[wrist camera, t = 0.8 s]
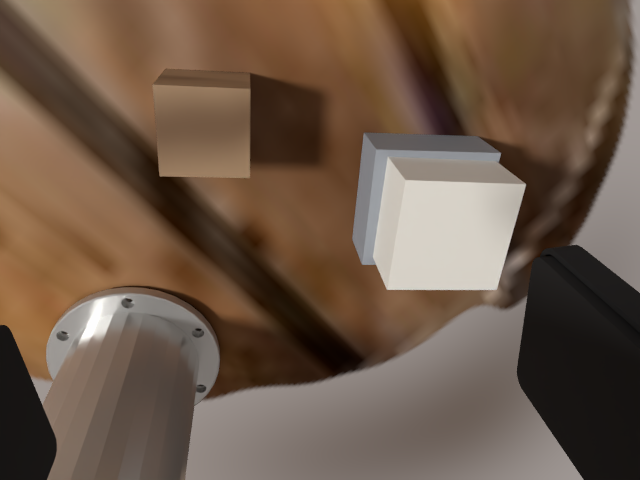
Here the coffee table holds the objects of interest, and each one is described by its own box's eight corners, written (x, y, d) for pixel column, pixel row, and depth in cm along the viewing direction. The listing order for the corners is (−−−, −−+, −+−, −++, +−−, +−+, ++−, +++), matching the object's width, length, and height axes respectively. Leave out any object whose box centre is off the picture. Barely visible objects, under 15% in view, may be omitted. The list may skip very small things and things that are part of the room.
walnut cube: (249, 151, 34) (249, 178, 29) (171, 149, 33) (159, 176, 29) (249, 72, 32) (250, 89, 27) (165, 68, 31) (152, 84, 26)
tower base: (454, 238, 39) (474, 264, 36) (351, 237, 38) (362, 264, 35) (476, 135, 36) (501, 153, 32) (363, 131, 34) (376, 149, 31)
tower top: (471, 258, 35) (496, 289, 32) (372, 257, 34) (387, 289, 31) (495, 160, 32) (526, 184, 29) (387, 156, 31) (405, 180, 28)
